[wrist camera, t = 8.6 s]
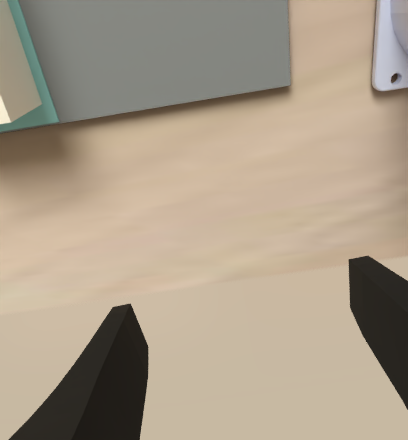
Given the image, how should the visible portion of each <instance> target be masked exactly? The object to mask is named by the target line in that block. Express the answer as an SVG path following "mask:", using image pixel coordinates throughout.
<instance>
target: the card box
mask: <svg viewBox="0 0 408 440" xmlns="http://www.w3.org/2000/svg"><path fill="white" fill-rule="evenodd" d="M41 104H42V102H41V99H40V96H39V93H38V90H37V87H36V84H35V81H34V78H33V76H32V73H31V70H30V67H29V64H28V61H27V58H26V55H25V52H24V49H23V46H22V43H21V40H20V37H19V34H18V31H17V28H16V25H15V22H14V19H13V16H12V14H11V11H10V8H9V5H8V2H7V0H0V124H4V123H11V122H13V121H14V120H16V119H18V118H19V117H21V116H23V115H25V114H26V113H28V112H30V111H31V110H33V109H35V108H36V107H38V106H40V105H41Z"/></svg>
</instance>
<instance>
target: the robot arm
mask: <svg viewBox="0 0 408 440" xmlns="http://www.w3.org/2000/svg"><path fill="white" fill-rule="evenodd" d="M395 73H397V76H398V77H397V80H396V81H395V82H394V83H391V77H392V76H393V75H394V74H395ZM372 86H373V87H374V89H376V90H378V91H390V90H396V89H402V88H408V0H377V8H376V24H375V39H374V55H373V70H372ZM349 281H350V282H349V284H350V308H351V310H352V312H353V315H354V317H355V319H356V322H357V324H358V326H359V328H360V330H361V332H362V335H363V337H364V338H365V340H366V342H367V343H368V345H369V347H370V348H371V350H372V351H373V353H374V355H375V356H376V358H377V360H378V361H379V363H380V364H381V366H382V368H383V369H384V371H385V373H386V374H387V376H388V377H389V379H390V381H391V382H392V384H393V385H394V387H395V389H396V390H397V392H398V394H399V395H400V397H401V399H402V400H403V402H404V404H405V406H406V408H407V409H408V281H407V280H405V279H404V278H402V277H400V276H399V275H397V274H396V273H394V272H393V271H391V270H390V269H388V268H386V267H385V266H383V265H382V264H380V263H379V262H377V261H376V260H374V259H373V258H371V257H369V256H364V257H359V258H354V259H349ZM147 380H148V345H147V342H146V340H145V338H144V335H143V333H142V330H141V328H140V325H139V323H138V321H137V318H136V316H135V313H134V311H133V308H132V306H131V304H126V305H121V306H117V307H113V308H112V309H111V311H110V312H109V314H108V315H107V317H106V318H105V320H104V321H103V323H102V324H101V326H100V327H99V329H98V330H97V332H96V333H95V335H94V336H93V338H92V339H91V341H90V342H89V344H88V345H87V346H86V348H85V349H84V351H83V352H82V354H81V355H80V357H79V358H78V359H77V361H76V362H75V364H74V365H73V366H72V367H71V369H70V370H69V372H68V373H67V374H66V375H65V377H64V378H63V380H62V381H61V382H60V383H59V385H58V386H57V387H56V389H55V390H54V391H53V392H52V393H51V394H50V396H49V397H48V398H47V399H46V400H45V401H44V403H43V404H42V405H41V406H40V407H39V408H38V409H37V411H36V412H35V413H34V414H33V415H32V416H31V417H30V418H29V419H28V421H27V422H26V423H24V425H22V427H21V428H20V429H19V430H18V431H17V432H16V433H15V434H14V435H13V436H12V437H11V438H10V439H9V440H140V432H141V425H142V418H143V411H144V403H145V396H146V388H147Z"/></svg>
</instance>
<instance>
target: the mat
mask: <svg viewBox="0 0 408 440" xmlns="http://www.w3.org/2000/svg"><path fill="white" fill-rule="evenodd" d="M7 2H8V5H9V8H10V11H11V14H12V16H13V19H14V22H15V25H16V28H17V31H18V34H19V37H20V40H21V43H22V46H23V49H24V52H25V55H26V58H27V61H28V64H29V67H30V70H31V73H32V76H33V78H34V81H35V84H36V87H37V90H38V93H39V96H40V99H41V102H42V104H41V105H40V106H38V107H36V108H35V109H33V110H31V111H30V112H28V113H26V114H25V115H23V116H21V117H19V118H18V119H16V120H14V121H13V122H11V123H4V124H0V133H6V132H12V131H18V130H24V129H30V128H36V127H42V126H48V125H55V124H61V123H67V122H73V121H79V120H85V119H91V118H97V117H103V116H109V115H115V114H121V113H127V112H133V111H139V110H145V109H151V108H157V107H163V106H169V105H175V104H181V103H187V102H193V101H199V100H205V99H211V98H217V97H223V96H229V95H235V94H241V93H248V92H254V91H260V90H266V89H272V88H278V87H284V86H290V85H291V83H290V55H289V27H288V0H7Z"/></svg>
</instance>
